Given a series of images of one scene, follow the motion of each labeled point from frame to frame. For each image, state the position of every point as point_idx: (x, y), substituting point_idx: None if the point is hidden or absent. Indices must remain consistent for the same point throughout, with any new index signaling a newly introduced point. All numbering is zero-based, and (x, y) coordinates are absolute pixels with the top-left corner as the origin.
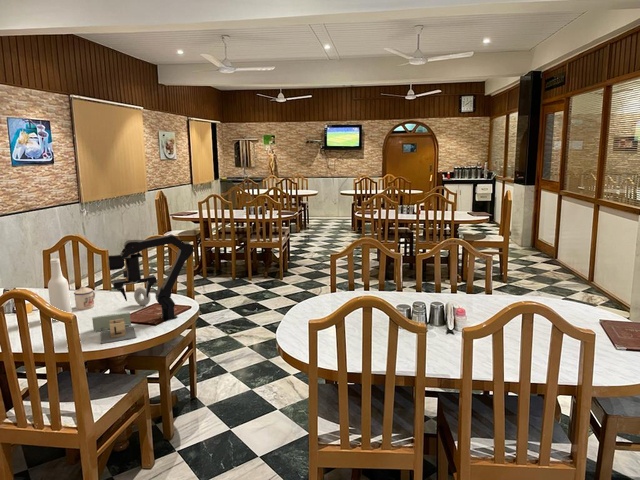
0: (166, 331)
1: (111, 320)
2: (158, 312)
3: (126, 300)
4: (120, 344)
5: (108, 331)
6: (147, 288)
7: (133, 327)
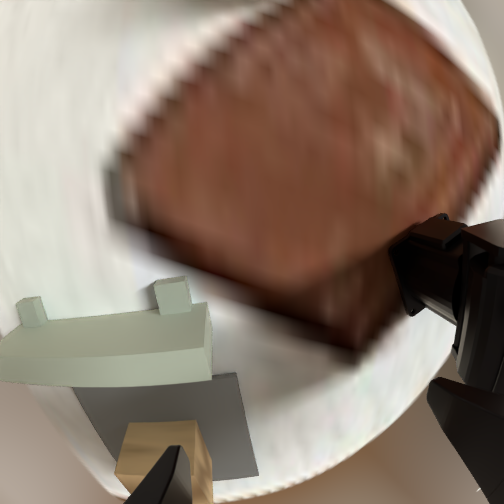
0: (378, 430)
1: (126, 476)
2: (380, 126)
3: (185, 471)
4: None
5: (107, 398)
6: (488, 499)
7: (235, 389)
